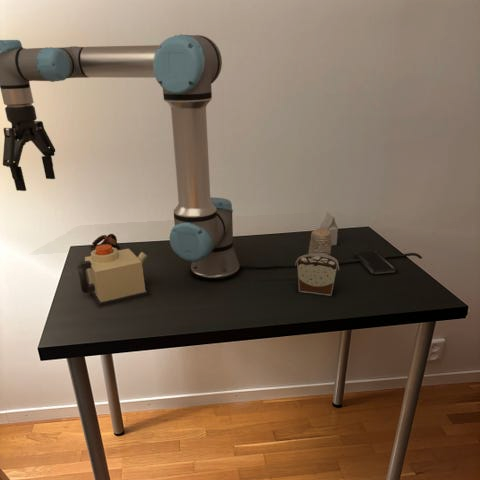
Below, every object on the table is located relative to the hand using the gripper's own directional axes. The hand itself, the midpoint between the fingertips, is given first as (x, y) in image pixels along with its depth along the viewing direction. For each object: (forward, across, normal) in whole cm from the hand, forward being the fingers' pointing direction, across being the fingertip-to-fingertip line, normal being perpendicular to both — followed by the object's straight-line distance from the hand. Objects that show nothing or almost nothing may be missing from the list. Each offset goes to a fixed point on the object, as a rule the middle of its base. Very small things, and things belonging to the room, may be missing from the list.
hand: (36, 184), depth 144 cm
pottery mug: (+28, -17, +9) cm, 34 cm away
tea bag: (+28, -47, +80) cm, 97 cm away
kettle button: (+16, +7, +23) cm, 29 cm away
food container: (+28, -8, +82) cm, 87 cm away
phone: (+28, -31, +97) cm, 106 cm away
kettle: (+28, +8, +26) cm, 39 cm away
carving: (+28, -24, +80) cm, 88 cm away
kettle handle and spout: (+28, +8, +26) cm, 39 cm away
